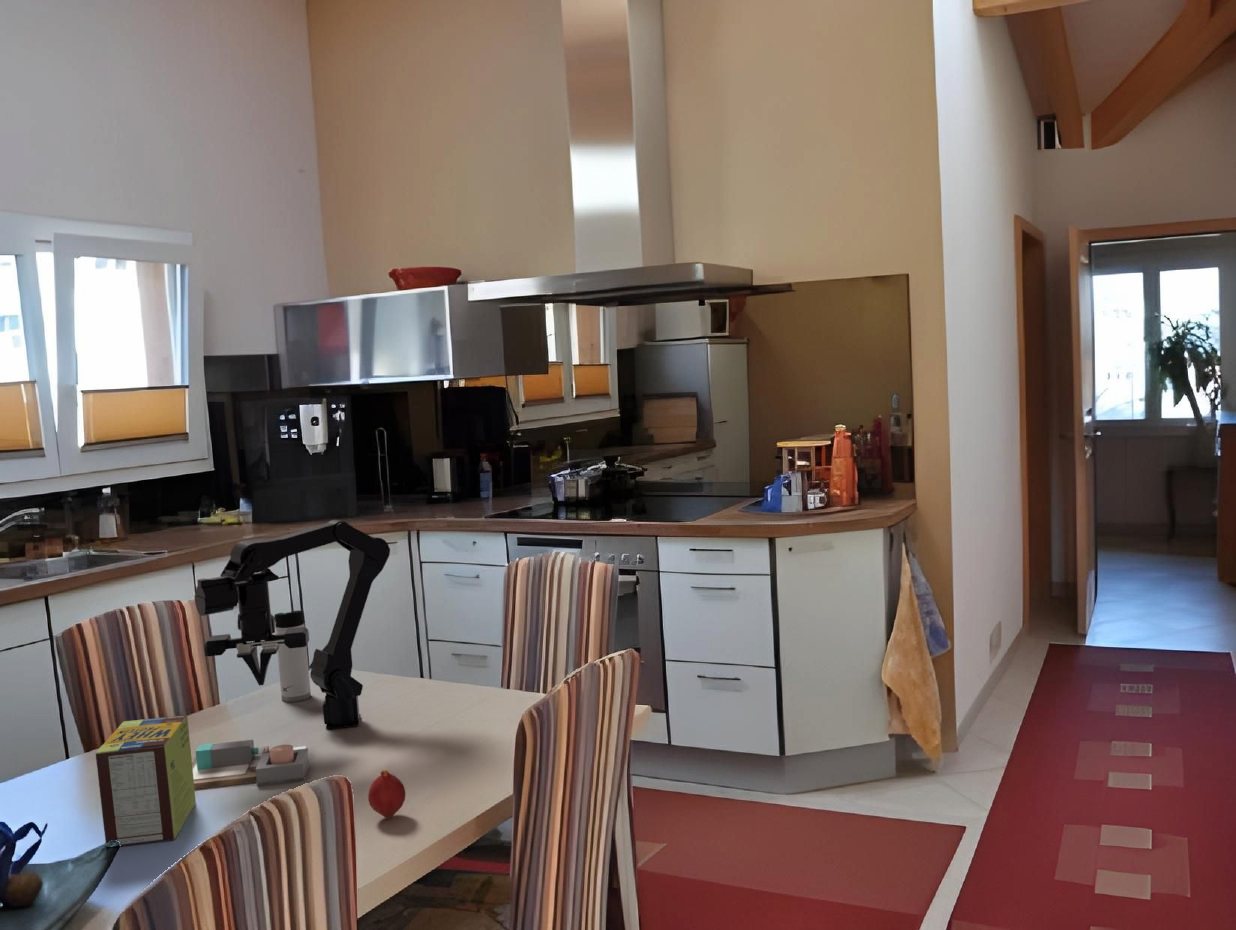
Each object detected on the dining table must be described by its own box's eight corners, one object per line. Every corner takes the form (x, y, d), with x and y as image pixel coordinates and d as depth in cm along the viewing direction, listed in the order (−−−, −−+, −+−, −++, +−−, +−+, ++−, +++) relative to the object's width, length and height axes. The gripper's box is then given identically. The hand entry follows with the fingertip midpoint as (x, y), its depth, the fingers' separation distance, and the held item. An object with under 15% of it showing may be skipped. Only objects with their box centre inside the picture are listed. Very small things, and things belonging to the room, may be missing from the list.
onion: (373, 811, 175) (369, 764, 174) (408, 808, 175) (405, 760, 175) (367, 826, 169) (363, 777, 168) (404, 823, 170) (400, 774, 169)
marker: (260, 756, 200) (258, 738, 200) (257, 763, 197) (255, 744, 197) (201, 763, 199) (199, 744, 198) (197, 770, 195) (195, 751, 195)
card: (306, 747, 207) (306, 745, 207) (303, 756, 202) (303, 754, 202) (274, 751, 206) (274, 749, 206) (270, 760, 201) (270, 758, 201)
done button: (296, 764, 196) (294, 743, 195) (293, 772, 192) (291, 751, 191) (273, 767, 195) (271, 746, 195) (270, 775, 191) (268, 753, 191)
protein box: (196, 802, 183) (188, 713, 182) (174, 841, 168) (165, 744, 167) (131, 809, 182) (122, 720, 180) (103, 849, 166) (93, 752, 165)
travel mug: (284, 704, 236) (276, 614, 234) (279, 697, 242) (271, 609, 240) (313, 699, 239) (306, 610, 237) (307, 691, 244) (300, 605, 243)
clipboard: (269, 750, 207) (268, 741, 206) (255, 781, 191) (255, 772, 191) (198, 758, 204) (197, 749, 204) (178, 790, 189) (177, 780, 189)
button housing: (309, 764, 198) (307, 748, 198) (304, 780, 190) (302, 763, 190) (264, 769, 197) (262, 753, 197) (257, 785, 189) (255, 769, 189)
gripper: (308, 593, 217) (315, 668, 219) (212, 601, 214) (219, 678, 215) (302, 604, 206) (309, 684, 208) (200, 614, 203) (208, 694, 205)
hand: (261, 684), depth 209 cm, fingers closed
